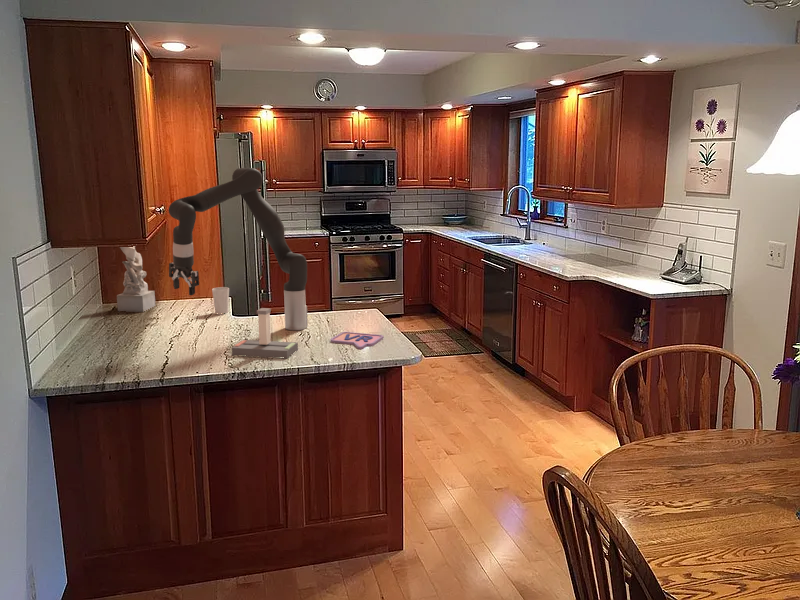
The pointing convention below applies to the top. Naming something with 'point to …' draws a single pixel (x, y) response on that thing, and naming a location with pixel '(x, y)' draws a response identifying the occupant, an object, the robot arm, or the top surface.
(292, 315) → the robot arm
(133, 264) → the sculpture
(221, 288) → the cup
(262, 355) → the switch base
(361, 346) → the icon
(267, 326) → the handle
